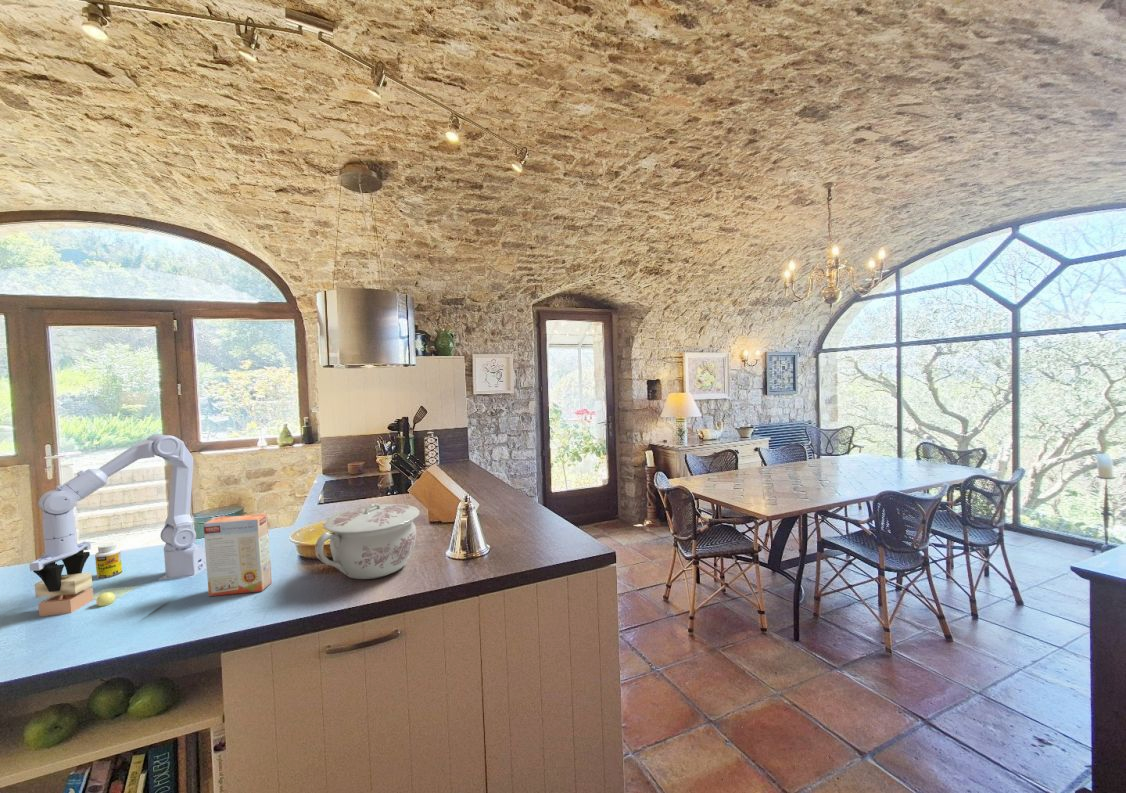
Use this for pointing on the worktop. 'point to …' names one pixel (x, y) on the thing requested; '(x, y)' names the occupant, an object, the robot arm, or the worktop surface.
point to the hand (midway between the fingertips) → (64, 586)
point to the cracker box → (237, 554)
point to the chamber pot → (370, 540)
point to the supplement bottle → (108, 561)
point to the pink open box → (65, 603)
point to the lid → (66, 585)
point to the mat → (115, 591)
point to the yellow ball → (105, 599)
